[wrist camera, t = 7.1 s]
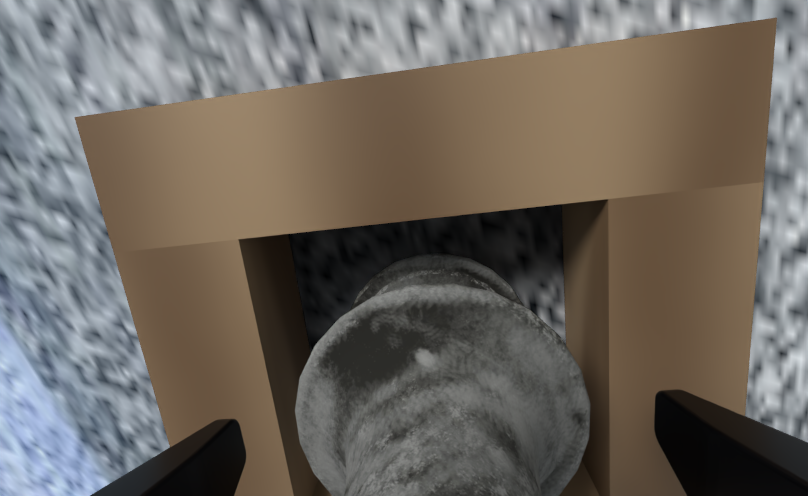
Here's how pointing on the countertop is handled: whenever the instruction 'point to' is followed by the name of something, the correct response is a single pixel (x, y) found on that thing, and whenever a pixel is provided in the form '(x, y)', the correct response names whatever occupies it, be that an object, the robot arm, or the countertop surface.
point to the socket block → (450, 196)
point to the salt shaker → (442, 390)
